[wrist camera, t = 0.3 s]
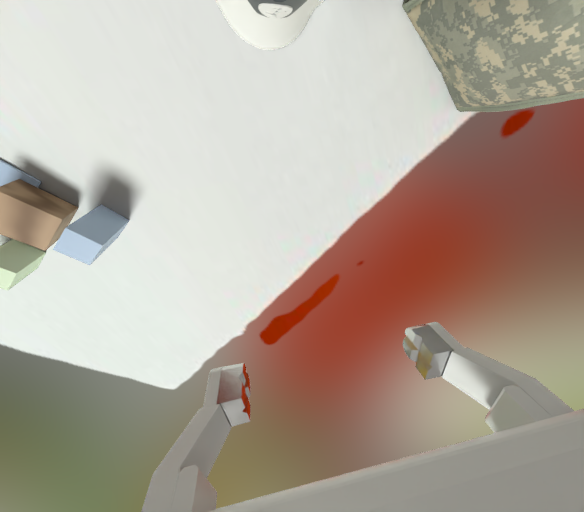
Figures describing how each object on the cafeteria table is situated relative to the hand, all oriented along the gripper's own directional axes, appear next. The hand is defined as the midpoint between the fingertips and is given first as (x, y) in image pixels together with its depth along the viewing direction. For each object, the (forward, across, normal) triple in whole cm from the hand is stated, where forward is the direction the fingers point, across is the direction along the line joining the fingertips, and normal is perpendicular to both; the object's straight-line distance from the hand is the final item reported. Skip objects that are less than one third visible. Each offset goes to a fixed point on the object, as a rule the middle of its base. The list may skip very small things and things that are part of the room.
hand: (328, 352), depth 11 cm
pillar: (+40, +32, +1) cm, 51 cm away
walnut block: (+39, +42, -3) cm, 57 cm away
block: (+40, +51, +5) cm, 65 cm away
